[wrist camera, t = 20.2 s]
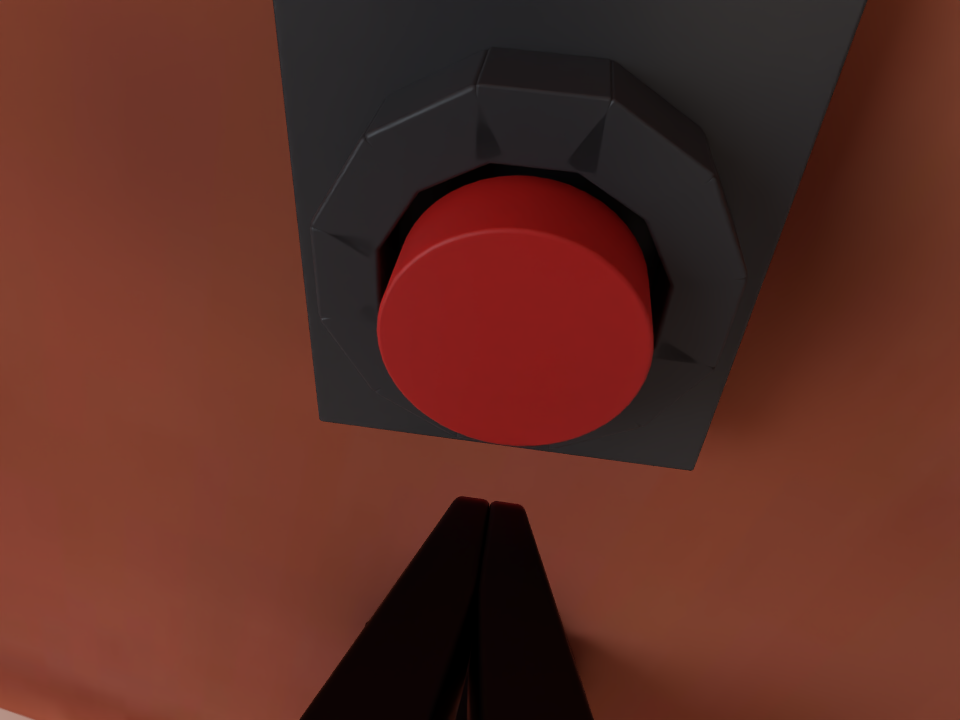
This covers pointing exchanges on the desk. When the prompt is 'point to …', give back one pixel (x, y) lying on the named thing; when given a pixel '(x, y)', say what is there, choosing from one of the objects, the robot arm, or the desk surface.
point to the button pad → (556, 166)
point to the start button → (518, 312)
